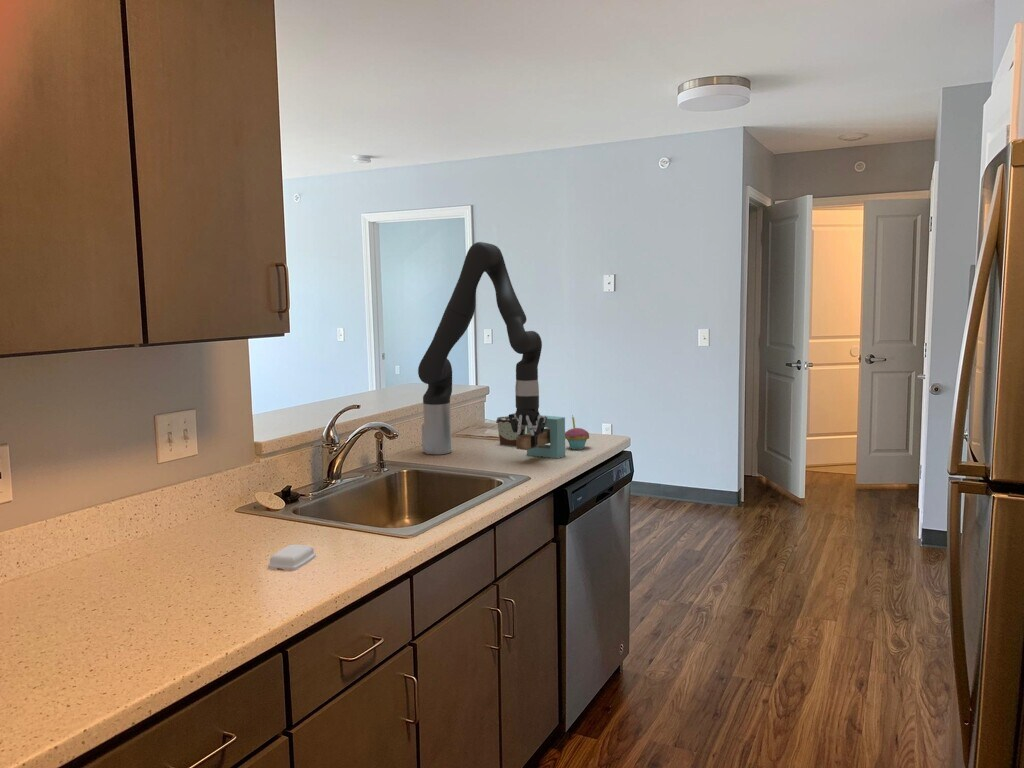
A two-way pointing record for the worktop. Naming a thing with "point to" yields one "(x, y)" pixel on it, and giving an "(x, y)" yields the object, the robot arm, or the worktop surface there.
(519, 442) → the brown rectangular block
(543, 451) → the light blue hollow block
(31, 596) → the worktop surface
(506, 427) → the food container
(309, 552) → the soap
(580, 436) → the cupcake
